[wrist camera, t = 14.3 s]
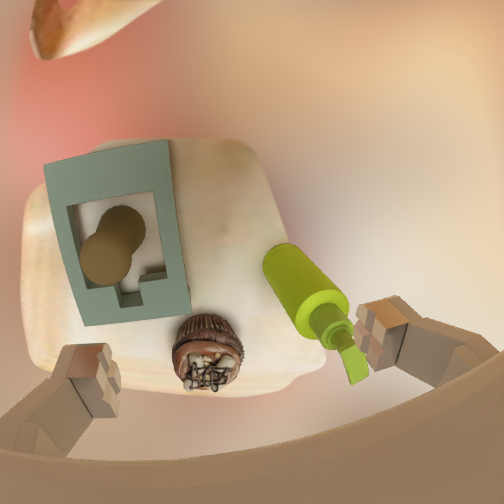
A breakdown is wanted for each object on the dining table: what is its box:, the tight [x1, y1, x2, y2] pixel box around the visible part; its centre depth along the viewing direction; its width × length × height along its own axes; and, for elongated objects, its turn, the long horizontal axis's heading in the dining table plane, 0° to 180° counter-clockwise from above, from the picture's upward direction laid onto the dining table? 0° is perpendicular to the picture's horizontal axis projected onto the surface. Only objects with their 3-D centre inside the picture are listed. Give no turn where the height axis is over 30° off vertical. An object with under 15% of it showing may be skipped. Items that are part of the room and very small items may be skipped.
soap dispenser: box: [263, 244, 369, 385], centre depth 33 cm, size 6×7×20 cm
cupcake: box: [172, 315, 244, 392], centre depth 39 cm, size 10×10×10 cm
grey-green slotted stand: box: [43, 140, 192, 326], centre depth 34 cm, size 20×14×4 cm
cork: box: [80, 205, 146, 286], centre depth 31 cm, size 6×6×11 cm
